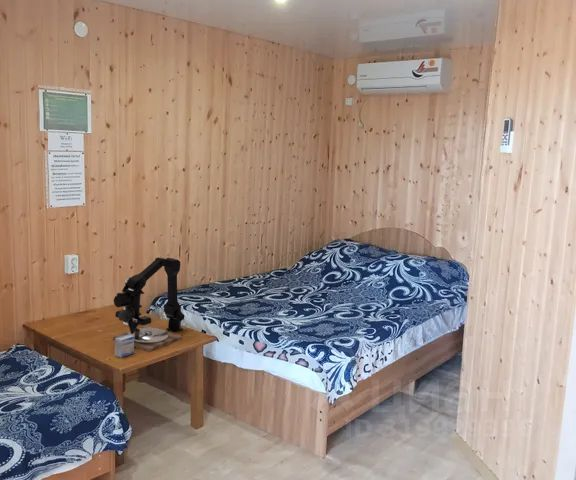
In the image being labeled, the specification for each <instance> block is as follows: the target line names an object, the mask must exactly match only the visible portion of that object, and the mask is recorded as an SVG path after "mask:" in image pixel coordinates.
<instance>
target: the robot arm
mask: <svg viewBox="0 0 576 480" xmlns="http://www.w3.org/2000/svg"><path fill="white" fill-rule="evenodd" d="M162 268H164V272H165V274H166V275H167V276H166V277H167V281H166V282H167V302H166V303H165V304H163V313H164V314H165V317H166V318H167V319H168V327H167V328H165V329H166V330H165V331H171V332H172V333H177V332H180V331H181V330H183V328H182V326H181V325H182V321H183V320H184V319H185V314H184V312H182V308H181V305H180V303H179V301H178V274H179V272H180V271H181V261H180V260H179V259H176V258H174V257H167V258H163V257H156V258H155V259H154V260H153V261H152V262H151V263H150V264H148V266H147V267H146V268H144V269H143V270H142V271H141V272H140V273H138V274H134V275H132V276H131V278H129V277H128V278H129V279H128V280H127V283H126V285H125V284H124V286H123V288H122V290H121V292H117V293H116V295H115V296H114V298H113V304H114V306H115V307H116V308H121V307H123V309H119V310H117V311H116V312H115V313H114V314H115V318H118V320H119V321H121V322H123V321H124V322H127V323H128V325H127V326H128V328H129V331H130V332H131V334H133V333H134V332H135V329H137V327H139V326H147V325H149V324H151V323H152V318H151V317H150V316H146V315H144V316H142V312H140V311H141V308H142V307H143V306H142V305H141V296H142V295H143V294H145V292H144V291H143V288H145V286H146V284H147V281H149V279H150V278H152V276H154V275H155V274H156V273H157V272H158V271H159V270H160V269H162ZM129 289H132V290H134V291H132V290H129ZM124 306H126V308H125V310H124Z"/></svg>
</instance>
